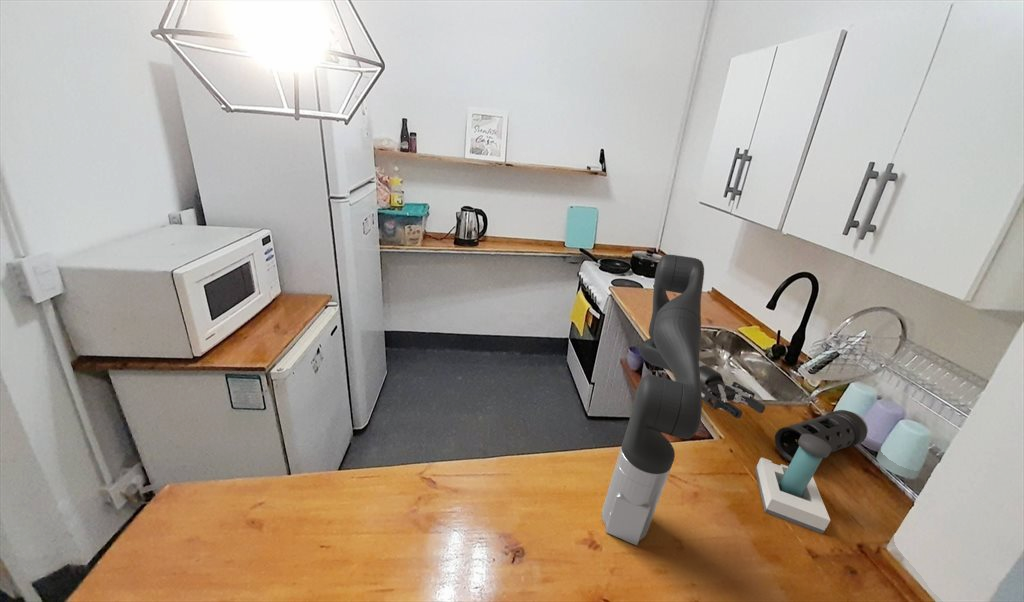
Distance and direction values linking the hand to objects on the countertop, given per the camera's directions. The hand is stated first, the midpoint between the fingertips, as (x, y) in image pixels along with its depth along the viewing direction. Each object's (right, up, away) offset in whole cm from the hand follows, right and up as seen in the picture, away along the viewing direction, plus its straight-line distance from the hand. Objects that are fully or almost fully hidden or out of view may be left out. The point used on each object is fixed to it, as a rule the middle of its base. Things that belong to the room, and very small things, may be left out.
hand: (752, 412), depth 97 cm
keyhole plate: (+5, -19, -4) cm, 20 cm away
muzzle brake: (+26, -15, +14) cm, 33 cm away
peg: (+5, -18, -4) cm, 19 cm away
